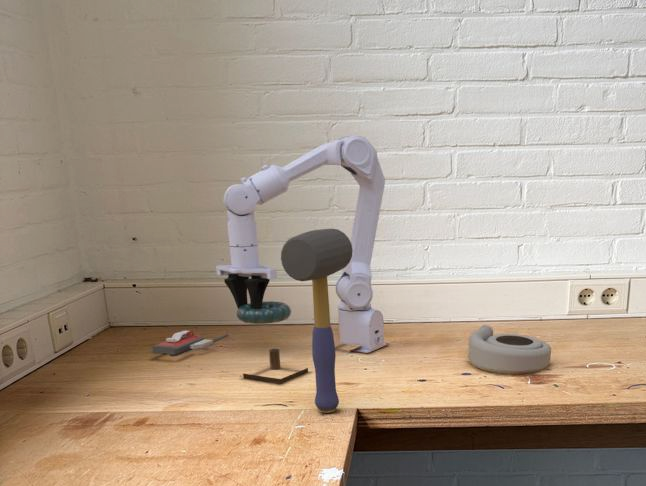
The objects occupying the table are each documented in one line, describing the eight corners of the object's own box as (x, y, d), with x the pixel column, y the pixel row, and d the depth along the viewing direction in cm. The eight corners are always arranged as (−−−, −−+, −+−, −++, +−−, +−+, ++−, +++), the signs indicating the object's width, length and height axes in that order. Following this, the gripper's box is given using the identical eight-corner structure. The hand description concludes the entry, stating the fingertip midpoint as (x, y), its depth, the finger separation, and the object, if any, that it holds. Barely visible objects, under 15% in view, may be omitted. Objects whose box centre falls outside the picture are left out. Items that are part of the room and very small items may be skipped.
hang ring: (301, 316, 168) (300, 302, 167) (268, 327, 159) (267, 312, 158) (261, 312, 174) (260, 298, 172) (226, 322, 165) (225, 308, 164)
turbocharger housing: (536, 384, 151) (556, 364, 164) (540, 351, 148) (560, 333, 161) (453, 370, 157) (479, 352, 170) (455, 337, 155) (481, 322, 167)
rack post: (308, 372, 158) (306, 347, 157) (280, 384, 151) (278, 357, 149) (272, 367, 163) (270, 342, 161) (243, 378, 155) (240, 352, 154)
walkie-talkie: (182, 363, 167) (232, 341, 185) (180, 343, 166) (230, 323, 183) (147, 361, 170) (199, 339, 188) (144, 340, 168) (197, 321, 186)
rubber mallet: (329, 425, 128) (318, 234, 118) (289, 420, 131) (274, 233, 121) (363, 402, 139) (355, 226, 129) (325, 398, 142) (314, 225, 132)
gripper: (203, 246, 163) (210, 312, 168) (258, 249, 157) (264, 317, 161) (226, 242, 169) (233, 306, 174) (281, 245, 162) (286, 311, 167)
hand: (249, 311), depth 168 cm, fingers closed on hang ring, 3 cm apart
